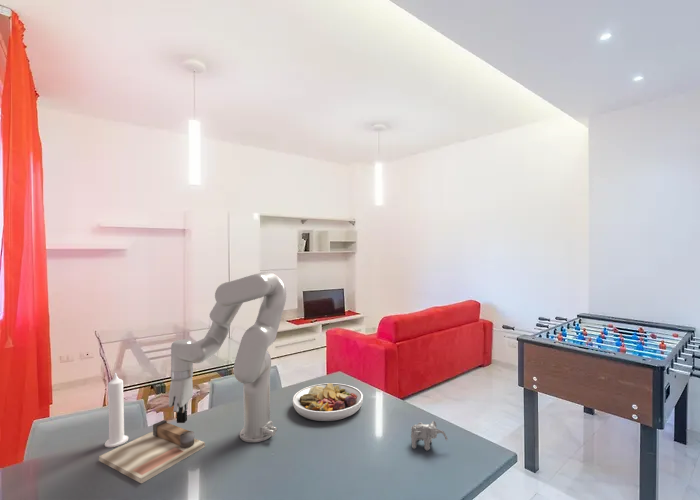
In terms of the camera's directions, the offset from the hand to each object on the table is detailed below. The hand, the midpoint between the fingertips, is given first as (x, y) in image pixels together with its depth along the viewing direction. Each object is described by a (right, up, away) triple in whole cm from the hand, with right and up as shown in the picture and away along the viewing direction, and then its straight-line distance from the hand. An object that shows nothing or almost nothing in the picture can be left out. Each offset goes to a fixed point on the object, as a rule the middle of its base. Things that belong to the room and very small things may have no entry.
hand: (181, 421), depth 134 cm
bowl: (+54, -3, +19) cm, 58 cm away
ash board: (-3, -4, -14) cm, 15 cm away
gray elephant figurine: (+91, -3, -12) cm, 91 cm away
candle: (-20, -4, -7) cm, 22 cm away
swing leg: (+1, -2, -9) cm, 9 cm away
